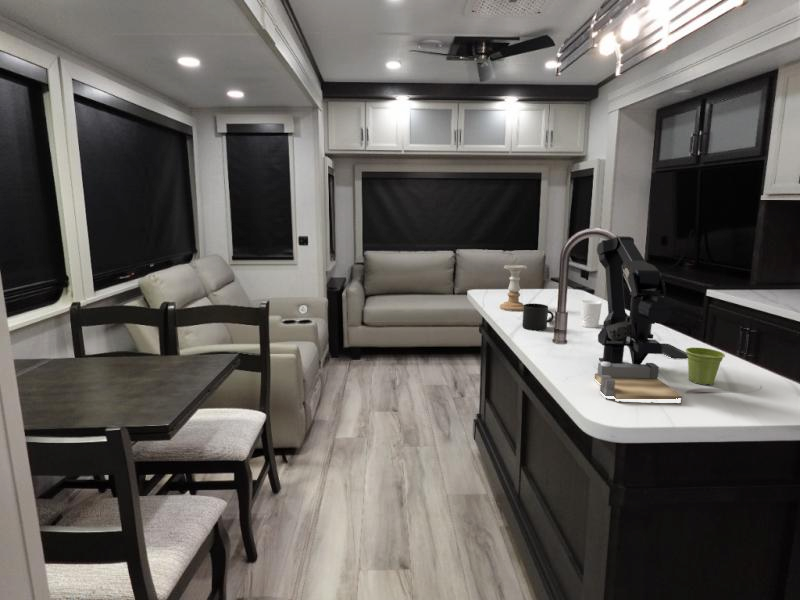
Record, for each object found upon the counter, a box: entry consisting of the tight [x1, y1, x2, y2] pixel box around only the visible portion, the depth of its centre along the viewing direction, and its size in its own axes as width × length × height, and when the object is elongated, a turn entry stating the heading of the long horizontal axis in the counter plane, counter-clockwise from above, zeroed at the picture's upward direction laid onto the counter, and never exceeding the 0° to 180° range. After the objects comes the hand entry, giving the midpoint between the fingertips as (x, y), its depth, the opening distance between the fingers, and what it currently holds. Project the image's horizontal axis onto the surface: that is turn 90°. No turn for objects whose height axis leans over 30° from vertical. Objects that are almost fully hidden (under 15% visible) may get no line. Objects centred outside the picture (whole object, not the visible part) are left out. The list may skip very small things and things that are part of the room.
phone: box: [660, 343, 688, 359], centre depth 169 cm, size 8×1×15 cm
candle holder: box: [499, 264, 528, 312], centre depth 235 cm, size 12×12×20 cm
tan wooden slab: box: [594, 373, 683, 399], centre depth 133 cm, size 16×18×5 cm
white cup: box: [580, 299, 603, 329], centre depth 203 cm, size 8×8×10 cm
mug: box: [522, 303, 554, 332], centre depth 199 cm, size 9×12×9 cm
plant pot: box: [685, 346, 726, 385], centre depth 140 cm, size 9×9×9 cm
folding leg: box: [597, 361, 660, 379], centre depth 138 cm, size 15×3×4 cm, turn 87°
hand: (635, 368), depth 140 cm, fingers closed
